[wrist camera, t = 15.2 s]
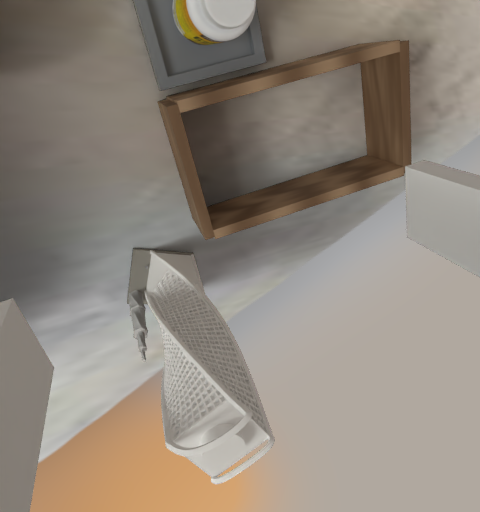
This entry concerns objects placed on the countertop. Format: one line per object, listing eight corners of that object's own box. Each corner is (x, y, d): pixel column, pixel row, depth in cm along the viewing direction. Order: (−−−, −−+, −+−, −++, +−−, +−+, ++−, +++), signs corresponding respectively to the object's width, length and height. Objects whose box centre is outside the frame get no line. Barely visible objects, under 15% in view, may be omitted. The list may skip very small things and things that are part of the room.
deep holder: (193, 219, 47) (206, 242, 41) (156, 99, 41) (165, 104, 35) (374, 160, 51) (411, 172, 45) (367, 41, 45) (408, 37, 38)
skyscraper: (134, 236, 46) (168, 425, 21) (204, 242, 49) (303, 415, 24) (127, 301, 49) (149, 533, 24) (192, 303, 52) (271, 513, 27)
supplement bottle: (179, 50, 39) (201, 46, 30) (164, -18, 36) (184, -46, 27) (234, 40, 40) (271, 32, 31) (223, -28, 37) (261, -57, 28)
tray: (159, 90, 40) (161, 90, 39) (119, -43, 35) (120, -48, 34) (260, 62, 42) (266, 62, 41) (237, -68, 37) (242, -73, 36)
